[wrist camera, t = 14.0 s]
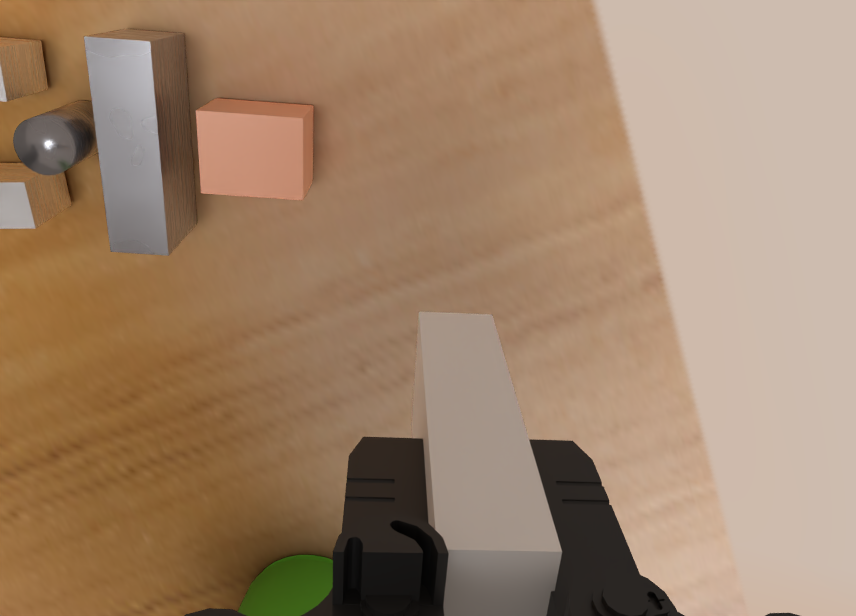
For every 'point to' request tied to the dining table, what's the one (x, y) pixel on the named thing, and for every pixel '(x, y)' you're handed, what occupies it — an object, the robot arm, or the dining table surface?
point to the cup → (289, 587)
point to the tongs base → (117, 131)
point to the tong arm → (30, 196)
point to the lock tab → (255, 148)
